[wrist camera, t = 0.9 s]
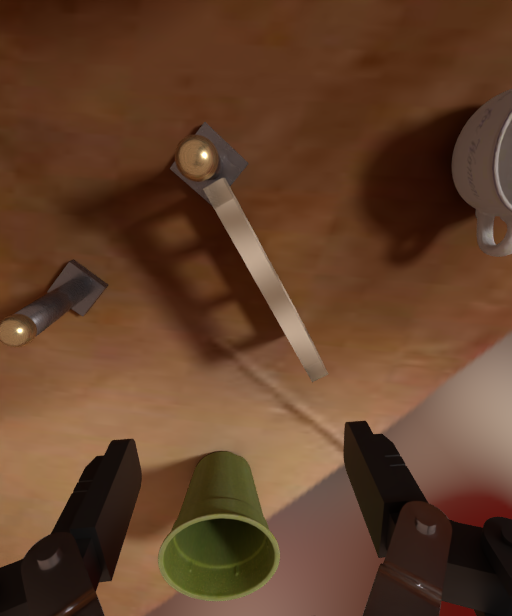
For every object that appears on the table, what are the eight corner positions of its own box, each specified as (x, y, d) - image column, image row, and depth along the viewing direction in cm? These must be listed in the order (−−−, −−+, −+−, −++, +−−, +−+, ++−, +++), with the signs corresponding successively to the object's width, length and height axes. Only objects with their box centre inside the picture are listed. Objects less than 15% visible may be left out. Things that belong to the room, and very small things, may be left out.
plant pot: (287, 473, 46) (303, 562, 35) (218, 519, 48) (213, 616, 37) (228, 416, 42) (226, 496, 31) (156, 469, 44) (131, 560, 33)
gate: (210, 186, 32) (202, 188, 24) (225, 178, 31) (222, 177, 23) (295, 339, 37) (312, 382, 29) (308, 332, 37) (328, 374, 29)
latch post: (73, 259, 35) (-6, 298, 23) (108, 284, 36) (49, 334, 24) (52, 289, 35) (-35, 340, 24) (86, 313, 37) (19, 373, 25)
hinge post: (205, 123, 31) (186, 85, 19) (248, 163, 33) (256, 153, 20) (171, 168, 32) (131, 161, 20) (213, 206, 34) (201, 221, 21)
